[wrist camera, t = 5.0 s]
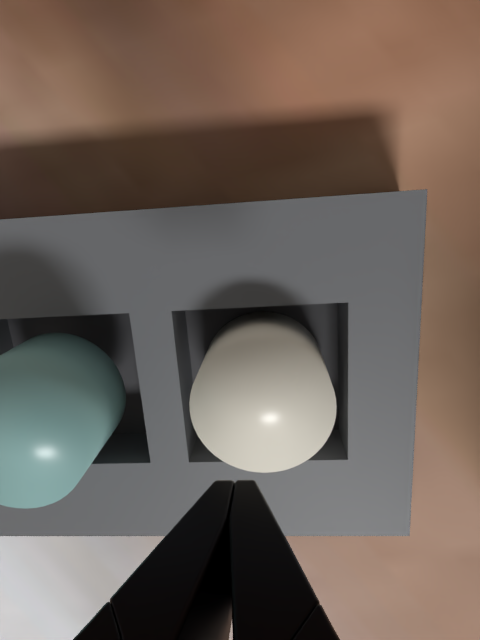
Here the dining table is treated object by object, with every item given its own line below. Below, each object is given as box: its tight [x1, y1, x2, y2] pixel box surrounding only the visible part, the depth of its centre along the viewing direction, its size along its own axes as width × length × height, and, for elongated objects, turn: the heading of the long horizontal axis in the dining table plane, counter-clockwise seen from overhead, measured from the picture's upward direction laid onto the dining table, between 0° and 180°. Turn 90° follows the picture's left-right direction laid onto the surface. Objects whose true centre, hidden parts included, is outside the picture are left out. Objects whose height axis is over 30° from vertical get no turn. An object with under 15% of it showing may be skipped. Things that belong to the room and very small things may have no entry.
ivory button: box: [189, 312, 337, 473], centre depth 14 cm, size 4×4×3 cm
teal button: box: [0, 333, 126, 509], centre depth 13 cm, size 4×4×3 cm
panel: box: [0, 189, 427, 536], centre depth 16 cm, size 24×12×3 cm, turn 94°
